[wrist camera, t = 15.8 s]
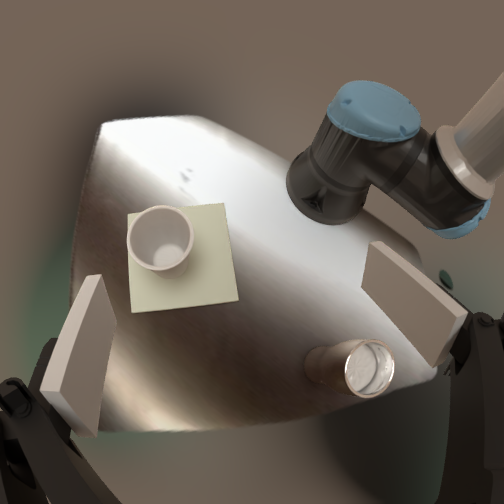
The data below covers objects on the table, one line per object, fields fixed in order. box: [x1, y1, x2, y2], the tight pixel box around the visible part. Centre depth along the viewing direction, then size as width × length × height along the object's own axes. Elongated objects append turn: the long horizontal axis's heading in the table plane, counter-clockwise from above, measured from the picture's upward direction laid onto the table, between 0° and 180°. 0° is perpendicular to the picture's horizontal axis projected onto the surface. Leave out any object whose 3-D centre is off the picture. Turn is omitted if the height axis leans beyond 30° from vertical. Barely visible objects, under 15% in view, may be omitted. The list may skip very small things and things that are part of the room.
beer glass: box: [304, 339, 395, 398], centre depth 34 cm, size 7×7×15 cm
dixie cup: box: [127, 205, 194, 279], centre depth 38 cm, size 8×8×10 cm
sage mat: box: [128, 203, 239, 313], centre depth 43 cm, size 16×16×1 cm
